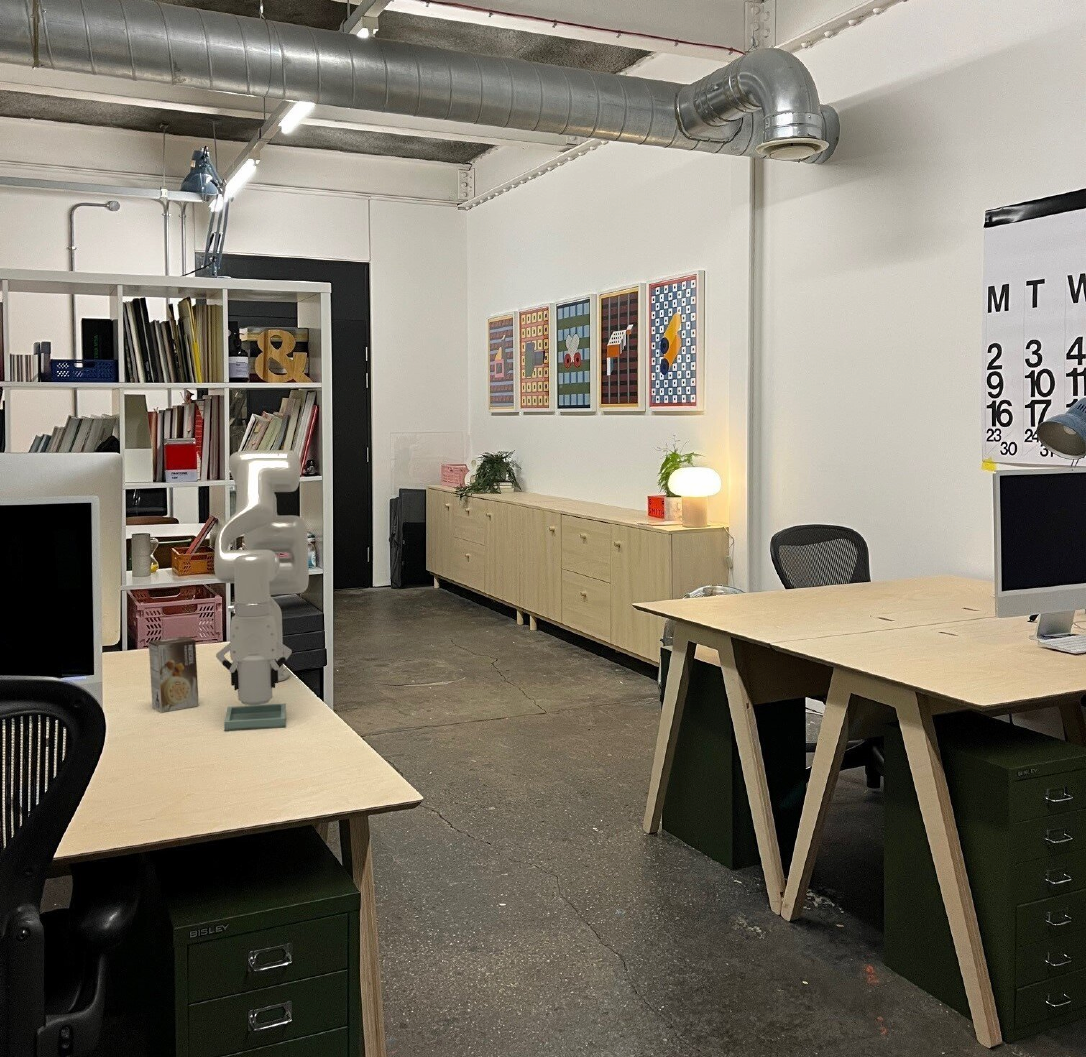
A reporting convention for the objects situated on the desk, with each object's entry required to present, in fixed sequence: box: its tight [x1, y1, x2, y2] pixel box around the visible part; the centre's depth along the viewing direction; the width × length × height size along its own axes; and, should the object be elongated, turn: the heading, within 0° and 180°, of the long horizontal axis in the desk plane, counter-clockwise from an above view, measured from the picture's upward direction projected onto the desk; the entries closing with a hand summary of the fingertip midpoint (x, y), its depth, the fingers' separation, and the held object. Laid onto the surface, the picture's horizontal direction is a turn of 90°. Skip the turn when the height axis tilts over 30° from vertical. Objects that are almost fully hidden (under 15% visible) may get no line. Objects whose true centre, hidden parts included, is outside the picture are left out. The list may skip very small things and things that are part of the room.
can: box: [237, 652, 273, 706], centre depth 246 cm, size 8×8×12 cm
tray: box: [223, 703, 287, 732], centre depth 248 cm, size 13×13×2 cm
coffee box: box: [148, 635, 200, 713], centre depth 259 cm, size 9×6×16 cm
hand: (255, 687), depth 247 cm, fingers closed on can, 7 cm apart
